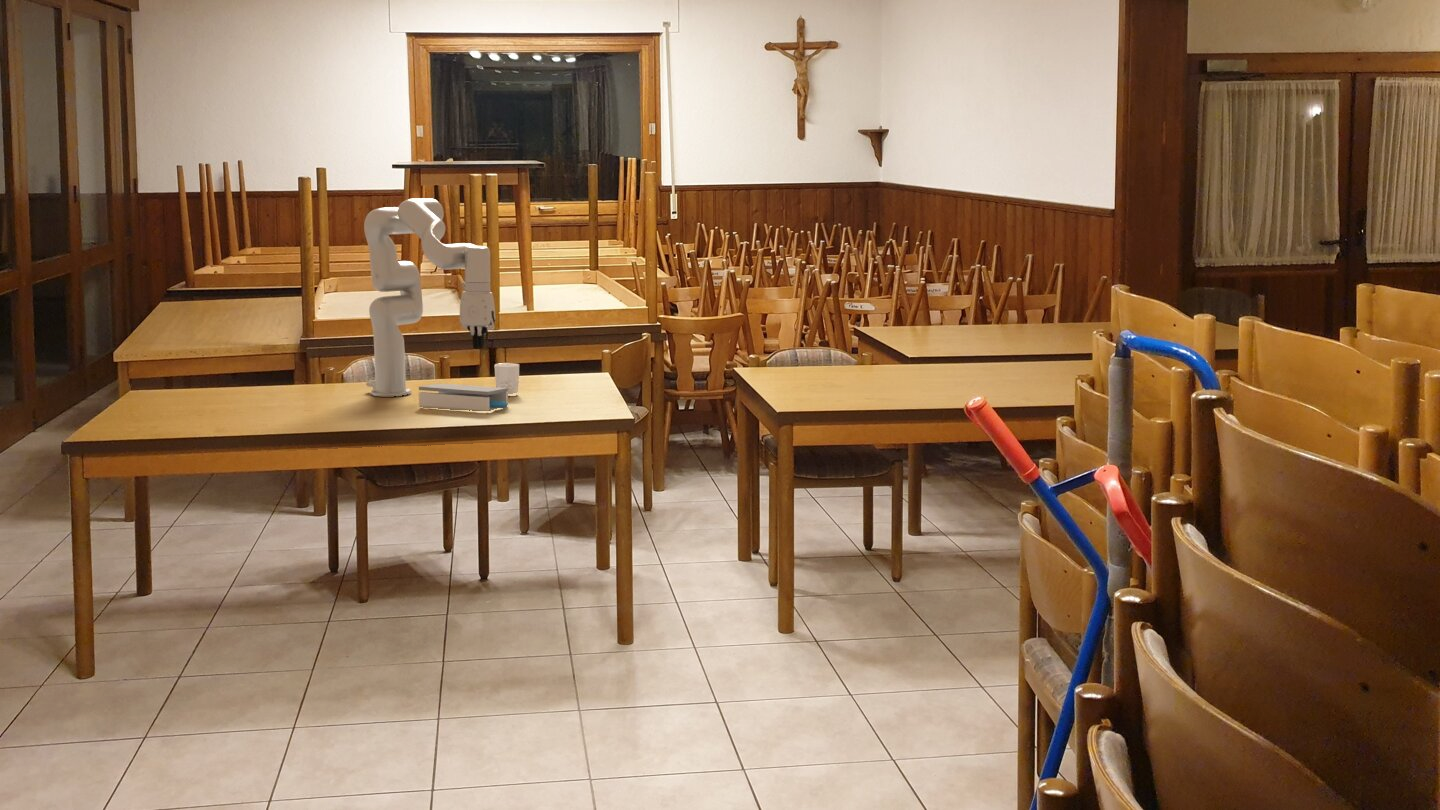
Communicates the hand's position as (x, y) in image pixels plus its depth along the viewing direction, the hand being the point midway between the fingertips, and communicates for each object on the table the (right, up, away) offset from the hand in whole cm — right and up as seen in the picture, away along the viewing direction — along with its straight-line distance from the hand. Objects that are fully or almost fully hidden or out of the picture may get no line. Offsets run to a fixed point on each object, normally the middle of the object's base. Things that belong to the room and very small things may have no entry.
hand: (478, 348), depth 430 cm
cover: (-6, -13, +6) cm, 15 cm away
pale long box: (-6, -18, +7) cm, 20 cm away
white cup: (+4, -14, +29) cm, 33 cm away
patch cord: (-5, -17, +6) cm, 19 cm away
